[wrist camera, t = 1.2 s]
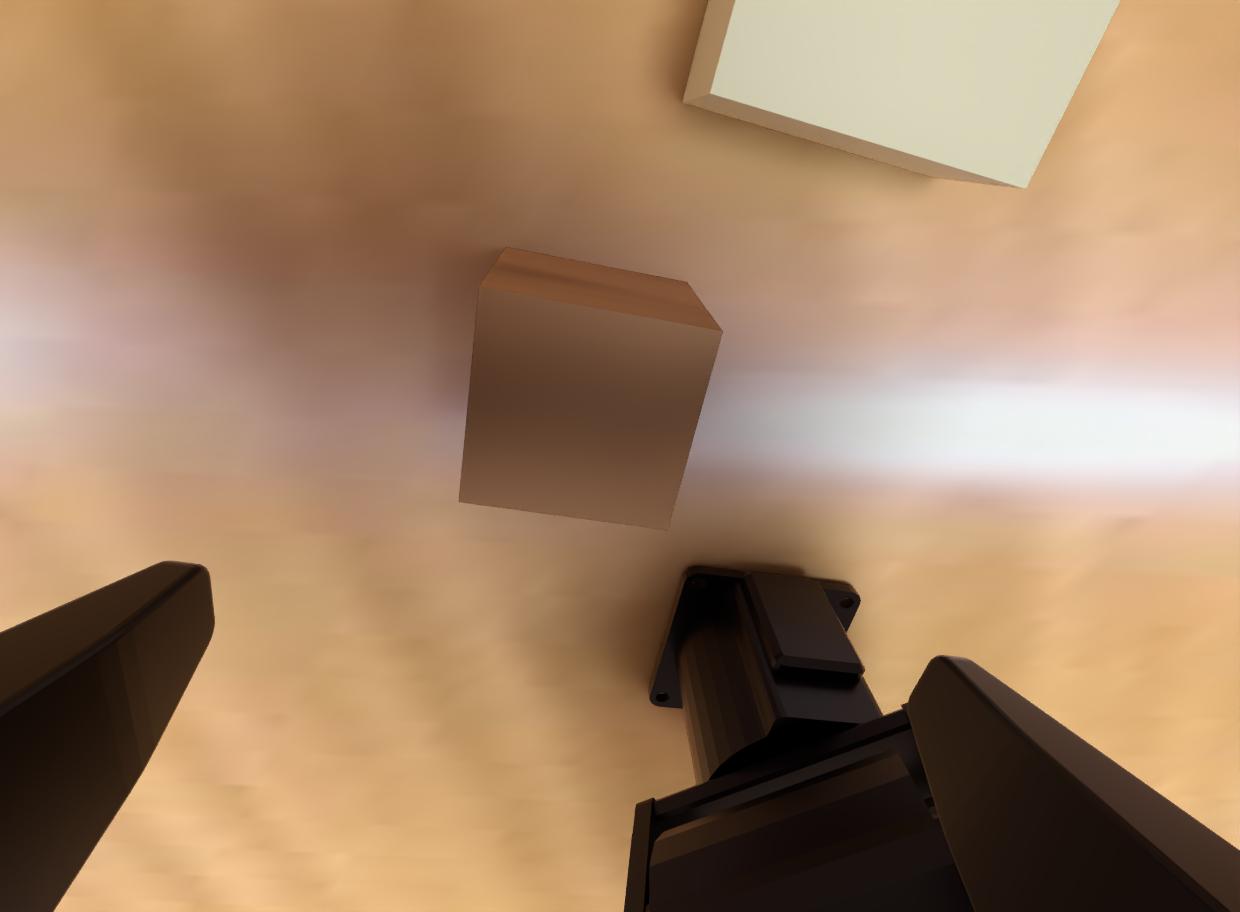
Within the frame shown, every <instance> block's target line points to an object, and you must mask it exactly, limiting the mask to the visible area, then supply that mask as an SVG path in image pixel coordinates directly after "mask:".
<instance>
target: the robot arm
mask: <svg viewBox="0 0 1240 912" xmlns="http://www.w3.org/2000/svg"><path fill="white" fill-rule="evenodd" d="M695 579H703V580H702V581H701V582H699V583H693V582H692V581H694V580H695ZM847 597H848V599H846V600H844V601H841V600H842V599H844V598H847ZM860 601H861V600H860V596H859V595H858V593H857V591H856V590H855V589H854V588H853V587H852V586H850V585H845V584H838V583H830V582H822V581H817V580H814V579H807V578H799V577H791V576H784V575H776V574H768V573H760V572H744V571H736V570H728V569H721V568H713V567H705V566H693V567H690V568H688V569H687V570H686V571H685V572H684V574H683V576H682V579H681V582H680V586H679V589H678V592H677V596H676V599H675V602H674V606H673V609H672V612H671V615H670V619H669V622H668V625H667V629H666V632H665V635H664V639H663V642H662V645H661V649H660V652H659V655H658V659H657V662H656V665H655V669H654V672H653V675H652V678H651V682H650V685H649V699H650V701H651V703H652V704H654V705H656V706H660V707H671V708H681V709H683V711H684V717H685V722H686V728H687V734H688V739H689V745H690V750H691V756H692V762H693V767H694V773H695V778H696V784H697V785H696V786H693V787H690V788H688V789H685V790H682V791H679V792H677V793H674V794H671V795H669V796H666V797H663V798H661V799H658V800H655V799H654V798H651V799H648V800H646V801H643V802H640V803H638V804H636V808H635V817H634V826H633V834H632V840H631V850H630V859H629V868H628V878H627V887H626V897H625V906H624V912H1240V850H1238V849H1237V848H1236V847H1234V846H1233V845H1231V844H1230V843H1229V842H1227V841H1226V840H1224V839H1223V838H1222V837H1220V836H1219V835H1217V834H1216V833H1214V832H1213V831H1212V830H1210V829H1209V828H1207V827H1206V826H1205V825H1203V824H1202V823H1200V822H1199V821H1198V820H1196V819H1195V818H1193V817H1192V816H1190V815H1189V814H1188V813H1186V812H1185V811H1183V810H1182V809H1181V808H1179V807H1178V806H1176V805H1175V804H1174V803H1172V802H1171V801H1169V800H1168V799H1166V798H1165V797H1164V796H1162V795H1161V794H1159V793H1158V792H1157V791H1155V790H1154V789H1152V788H1151V787H1150V786H1148V785H1147V784H1145V783H1144V782H1142V781H1141V780H1140V779H1138V778H1137V777H1135V776H1134V775H1133V774H1131V773H1130V772H1128V771H1127V770H1126V769H1124V768H1123V767H1121V766H1120V765H1118V764H1117V763H1116V762H1114V761H1113V760H1111V759H1110V758H1109V757H1107V756H1106V755H1104V754H1103V753H1102V752H1100V751H1099V750H1097V749H1096V748H1094V747H1093V746H1092V745H1090V744H1089V743H1087V742H1086V741H1085V740H1083V739H1082V738H1080V737H1079V736H1078V735H1076V734H1075V733H1073V732H1072V731H1070V730H1069V729H1068V728H1066V727H1065V726H1063V725H1062V724H1061V723H1059V722H1058V721H1056V720H1055V719H1054V718H1052V717H1051V716H1049V715H1048V714H1046V713H1045V712H1044V711H1042V710H1041V709H1039V708H1038V707H1037V706H1035V705H1034V704H1032V703H1031V702H1030V701H1028V700H1027V699H1025V698H1024V697H1022V696H1021V695H1020V694H1018V693H1017V692H1015V691H1014V690H1013V689H1011V688H1010V687H1008V686H1007V685H1006V684H1004V683H1003V682H1001V681H1000V680H998V679H997V678H996V677H994V676H993V675H991V674H990V673H989V672H987V671H986V670H984V669H983V668H982V667H980V666H979V665H977V664H976V663H974V662H973V661H971V660H969V659H967V658H963V657H955V656H947V655H938V656H936V657H934V658H933V659H931V661H930V662H929V664H928V665H927V667H926V669H925V671H924V672H923V674H922V676H921V678H920V679H919V681H918V683H917V685H916V686H915V688H914V690H913V692H912V693H911V695H910V698H909V701H908V703H905V704H903V705H901V707H902V709H900V710H897V711H894V712H892V713H889V714H886V715H883V714H882V712H881V710H880V708H879V706H878V704H877V702H876V700H875V698H874V696H873V694H872V692H871V691H870V689H869V687H868V685H867V683H866V681H865V679H864V677H863V674H864V672H865V668H864V665H863V663H862V662H861V660H860V658H859V656H858V654H857V652H856V650H855V648H854V647H853V645H852V643H851V641H850V639H849V637H848V635H847V634H846V633H847V630H848V628H849V626H850V624H851V622H852V620H853V618H854V616H855V614H856V611H857V609H858V607H859V605H860ZM214 626H215V616H214V607H213V598H212V589H211V580H210V574H209V571H208V570H207V568H206V567H205V566H203V565H200V564H194V563H186V562H178V561H163V562H160V563H157V564H155V565H153V566H150V567H148V568H146V569H143V570H141V571H139V572H137V573H134V574H132V575H130V576H128V577H125V578H123V579H121V580H118V581H116V582H114V583H112V584H109V585H107V586H105V587H103V588H100V589H98V590H96V591H93V592H91V593H89V594H87V595H84V596H82V597H80V598H78V599H75V600H73V601H71V602H68V603H66V604H64V605H62V606H59V607H57V608H55V609H52V610H50V611H48V612H46V613H43V614H41V615H39V616H37V617H34V618H32V619H30V620H27V621H25V622H23V623H21V624H18V625H16V626H14V627H12V628H9V629H7V630H5V631H2V632H0V912H54V910H55V909H56V907H57V905H58V904H59V902H60V901H61V899H62V898H63V896H64V895H65V893H66V891H67V890H68V888H69V887H70V885H71V884H72V882H73V881H74V879H75V878H76V876H77V874H78V873H79V871H80V870H81V868H82V867H83V865H84V864H85V862H86V860H87V859H88V857H89V856H90V854H91V853H92V851H93V850H94V848H95V847H96V845H97V843H98V842H99V840H100V839H101V837H102V836H103V834H104V833H105V831H106V829H107V828H108V826H109V825H110V823H111V822H112V820H113V819H114V817H115V816H116V814H117V812H118V811H119V809H120V808H121V806H122V805H123V803H124V802H125V800H126V798H127V797H128V795H129V794H130V792H131V791H132V789H133V787H134V786H135V784H136V782H137V781H138V779H139V777H140V776H141V774H142V773H143V771H144V769H145V767H146V765H147V764H148V762H149V760H150V758H151V756H152V754H153V752H154V751H155V749H156V747H157V745H158V743H159V741H160V739H161V737H162V735H163V733H164V731H165V729H166V727H167V725H168V723H169V721H170V719H171V717H172V715H173V713H174V712H175V710H176V708H177V706H178V704H179V702H180V700H181V698H182V696H183V694H184V692H185V690H186V688H187V686H188V684H189V682H190V680H191V678H192V676H193V674H194V672H195V670H196V668H197V666H198V664H199V662H200V660H201V658H202V657H203V655H204V653H205V651H206V649H207V647H208V645H209V643H210V640H211V638H212V635H213V631H214ZM659 693H663V694H659Z"/></svg>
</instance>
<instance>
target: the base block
mask: <svg viewBox="0 0 1240 912" xmlns="http://www.w3.org/2000/svg"><path fill="white" fill-rule="evenodd" d="M1119 2H1120V0H708V4H707V8H706V12H705V16H704V20H703V24H702V27H701V31H700V35H699V39H698V43H697V47H696V51H695V55H694V58H693V62H692V66H691V70H690V74H689V78H688V82H687V86H686V89H685V93H684V97H683V101H682V103H685V104H689V105H692V106H695V107H699V108H702V109H705V110H709V111H712V112H715V113H719V114H722V115H725V116H729V117H732V118H736V119H739V120H742V121H746V122H749V123H752V124H756V125H759V126H762V127H766V128H769V129H772V130H776V131H779V132H782V133H786V134H789V135H792V136H796V137H799V138H802V139H806V140H809V141H813V142H816V143H819V144H823V145H826V146H829V147H833V148H836V149H839V150H843V151H846V152H849V153H853V154H856V155H859V156H863V157H866V158H869V159H873V160H876V161H880V162H883V163H886V164H890V165H893V166H896V167H900V168H903V169H906V170H910V171H913V172H916V173H920V174H923V175H926V176H930V177H933V178H939V179H947V180H955V181H963V182H972V183H980V184H988V185H996V186H1005V187H1013V188H1021V189H1026V187H1027V185H1028V183H1029V181H1030V179H1031V177H1032V175H1033V173H1034V171H1035V169H1036V167H1037V165H1038V163H1039V161H1040V159H1041V157H1042V155H1043V153H1044V151H1045V149H1046V147H1047V145H1048V143H1049V141H1050V139H1051V137H1052V135H1053V133H1054V131H1055V129H1056V127H1057V125H1058V123H1059V121H1060V119H1061V117H1062V115H1063V114H1064V112H1065V110H1066V108H1067V106H1068V104H1069V102H1070V100H1071V98H1072V96H1073V94H1074V92H1075V90H1076V88H1077V86H1078V84H1079V82H1080V80H1081V78H1082V76H1083V74H1084V72H1085V70H1086V68H1087V66H1088V64H1089V62H1090V60H1091V58H1092V56H1093V54H1094V52H1095V50H1096V48H1097V46H1098V44H1099V42H1100V40H1101V38H1102V36H1103V34H1104V32H1105V30H1106V28H1107V26H1108V24H1109V22H1110V20H1111V18H1112V16H1113V14H1114V12H1115V10H1116V8H1117V6H1118V4H1119Z"/></svg>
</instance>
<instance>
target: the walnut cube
mask: <svg viewBox="0 0 1240 912" xmlns="http://www.w3.org/2000/svg"><path fill="white" fill-rule="evenodd" d="M722 333H723V331H722V330H721V328H720V327H719V325H718V324H717V323H716V321H715V320H714V319H713V317H712V316H711V315H710V313H709V312H708V310H707V309H706V308H705V306H704V305H703V304H702V302H701V301H700V299H699V298H698V297H697V295H696V294H695V293H694V291H693V290H692V289H691V287H690V286H689V284H688V283H687V282H683V281H678V280H673V279H668V278H663V277H657V276H652V275H647V274H642V273H637V272H632V271H626V270H621V269H616V268H611V267H606V266H601V265H595V264H590V263H585V262H580V261H575V260H570V259H564V258H559V257H554V256H549V255H544V254H539V253H533V252H528V251H523V250H518V249H513V248H508V247H506V248H505V249H504V251H503V252H502V254H501V255H500V257H499V258H498V260H497V261H496V263H495V264H494V265H493V267H492V268H491V270H490V271H489V273H488V274H487V276H486V277H485V278H484V280H483V281H482V283H481V284H480V286H479V291H478V302H477V312H476V323H475V334H474V344H473V355H472V366H471V376H470V387H469V397H468V408H467V419H466V429H465V440H464V450H463V461H462V472H461V482H460V493H459V502H463V503H470V504H478V505H485V506H492V507H500V508H507V509H515V510H522V511H529V512H537V513H544V514H551V515H559V516H566V517H573V518H581V519H588V520H596V521H603V522H610V523H618V524H625V525H632V526H640V527H647V528H655V529H662V530H668V528H669V524H670V520H671V517H672V513H673V510H674V506H675V502H676V499H677V495H678V492H679V488H680V484H681V481H682V477H683V474H684V470H685V466H686V463H687V459H688V455H689V452H690V448H691V445H692V441H693V437H694V434H695V430H696V427H697V423H698V419H699V416H700V412H701V409H702V405H703V401H704V398H705V394H706V390H707V387H708V383H709V380H710V376H711V372H712V369H713V365H714V362H715V358H716V354H717V351H718V347H719V344H720V340H721V336H722Z"/></svg>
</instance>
